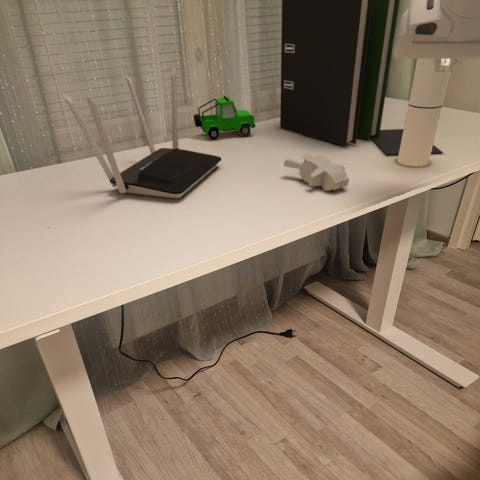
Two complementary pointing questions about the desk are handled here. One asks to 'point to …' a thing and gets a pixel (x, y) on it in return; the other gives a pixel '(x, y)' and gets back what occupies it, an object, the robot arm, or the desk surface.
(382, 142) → the mat
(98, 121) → the wireless router
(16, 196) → the desk surface
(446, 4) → the robot arm
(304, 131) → the ring binders
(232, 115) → the toy car
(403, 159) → the cylindrical container
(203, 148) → the desk surface
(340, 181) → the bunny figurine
